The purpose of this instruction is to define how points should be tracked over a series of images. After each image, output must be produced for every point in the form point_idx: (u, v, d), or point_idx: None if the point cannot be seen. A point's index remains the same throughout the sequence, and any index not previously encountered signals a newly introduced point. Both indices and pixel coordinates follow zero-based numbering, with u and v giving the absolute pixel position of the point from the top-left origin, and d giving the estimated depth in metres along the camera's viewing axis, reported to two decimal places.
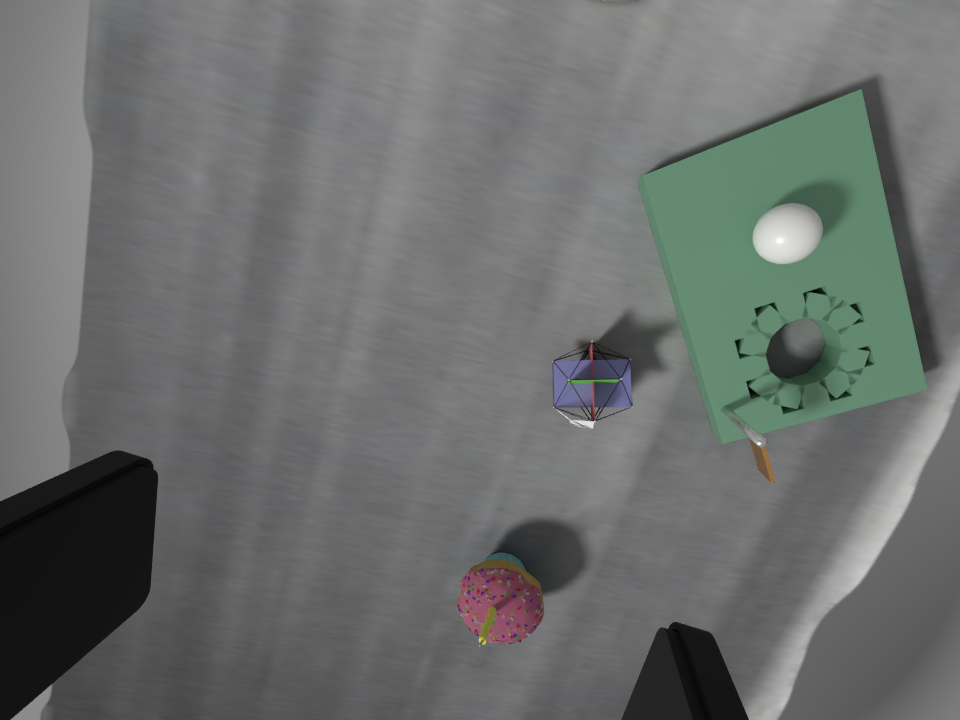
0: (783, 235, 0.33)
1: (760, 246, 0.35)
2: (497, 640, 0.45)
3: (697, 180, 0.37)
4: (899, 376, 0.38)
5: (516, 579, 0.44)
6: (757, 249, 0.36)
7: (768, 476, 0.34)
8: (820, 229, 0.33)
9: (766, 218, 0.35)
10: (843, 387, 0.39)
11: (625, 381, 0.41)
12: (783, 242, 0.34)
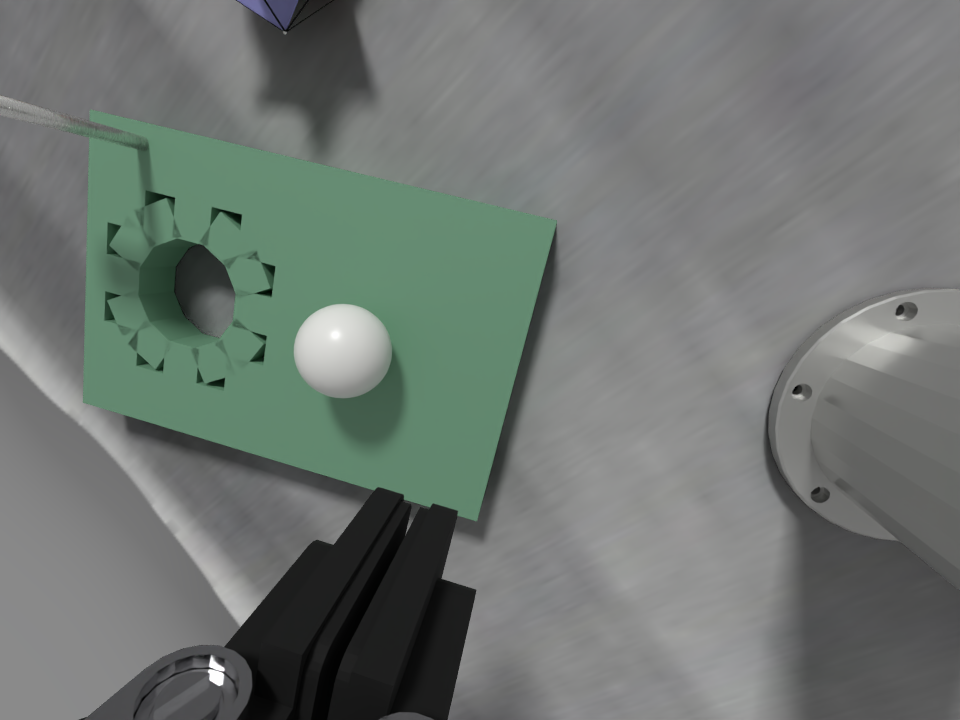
0: (333, 339, 0.20)
1: (342, 308, 0.21)
2: None
3: (496, 292, 0.23)
4: (110, 383, 0.27)
5: None
6: (343, 304, 0.22)
7: None
8: (317, 388, 0.21)
9: (378, 336, 0.21)
10: (119, 316, 0.26)
11: None
12: (323, 333, 0.20)
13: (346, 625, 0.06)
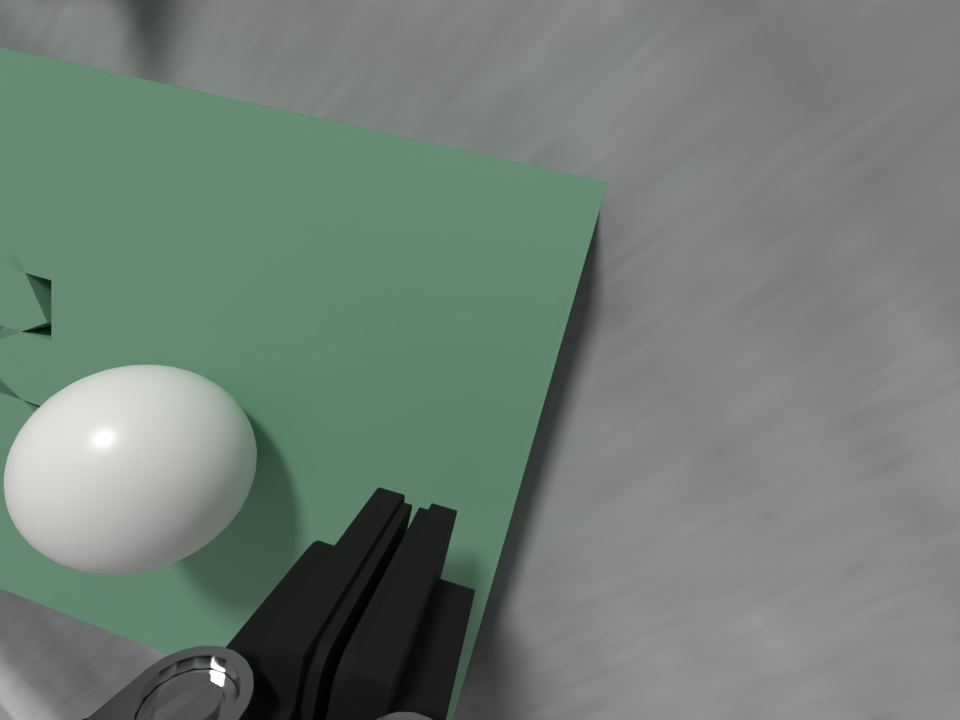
0: (63, 465, 0.08)
1: (118, 380, 0.09)
2: None
3: (473, 338, 0.11)
4: None
5: None
6: (135, 368, 0.10)
7: None
8: None
9: (197, 445, 0.09)
10: None
11: None
12: (44, 450, 0.08)
13: (347, 626, 0.06)
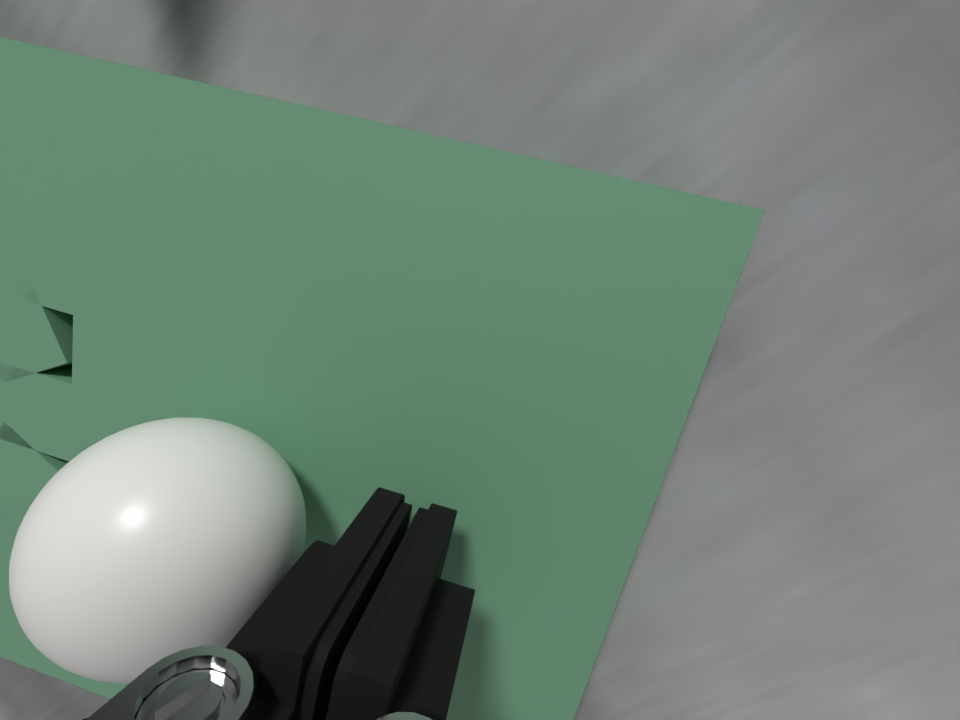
0: (80, 561, 0.06)
1: (149, 443, 0.08)
2: None
3: (586, 390, 0.09)
4: None
5: None
6: (169, 425, 0.08)
7: None
8: None
9: (241, 527, 0.07)
10: None
11: None
12: (56, 539, 0.07)
13: (347, 626, 0.06)
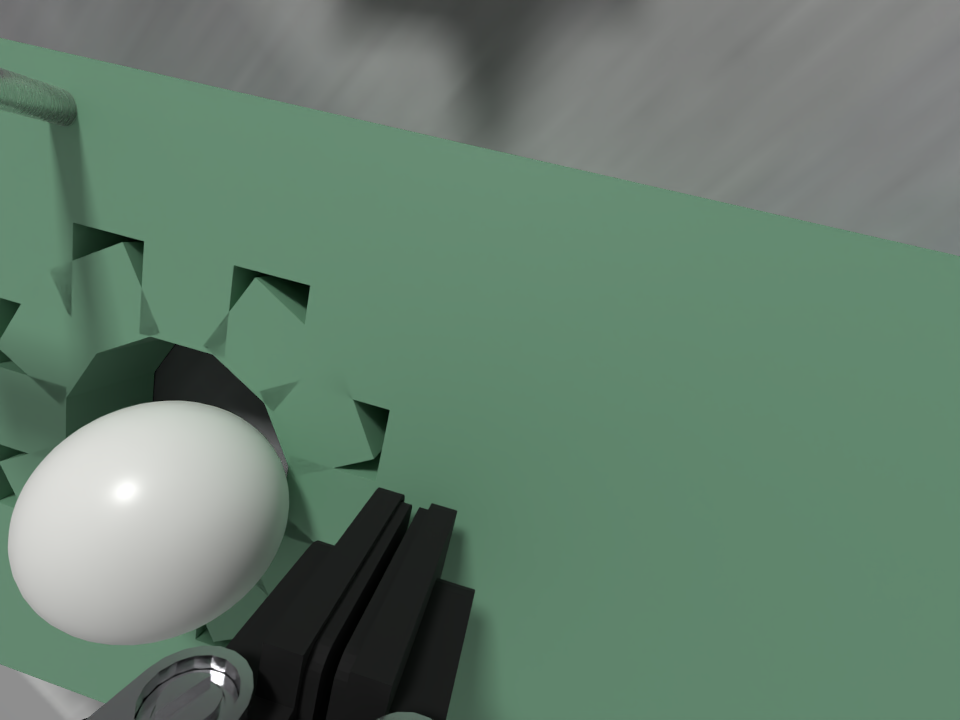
0: None
1: (146, 406, 0.09)
2: None
3: None
4: (15, 621, 0.13)
5: None
6: (186, 405, 0.09)
7: None
8: None
9: (74, 501, 0.07)
10: None
11: None
12: None
13: (347, 625, 0.06)
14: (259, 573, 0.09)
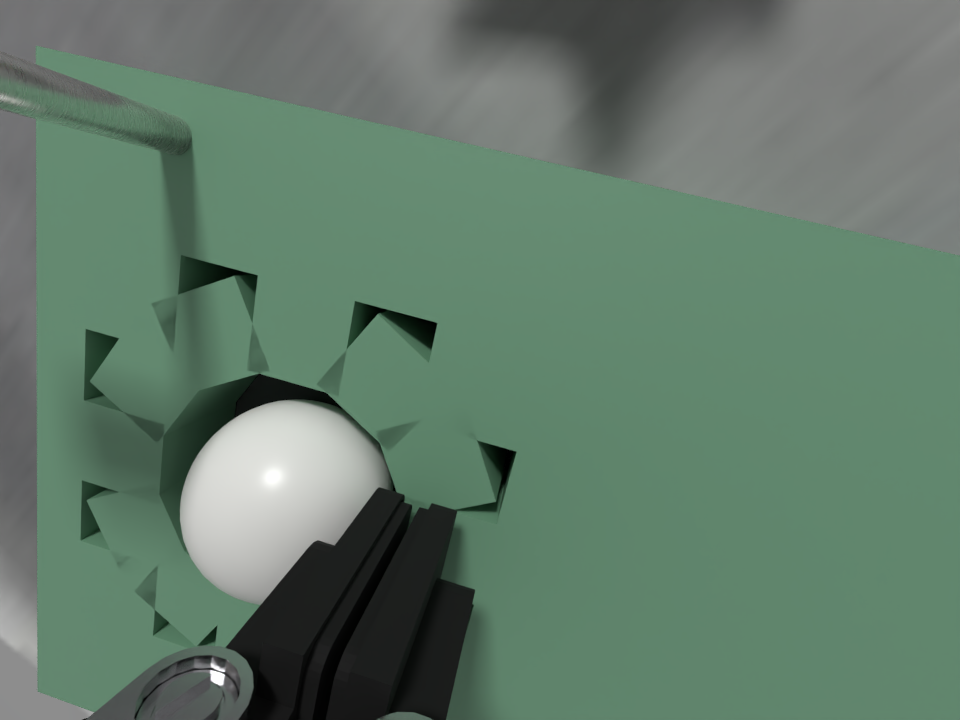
0: None
1: (298, 400, 0.11)
2: None
3: None
4: (95, 662, 0.12)
5: None
6: (323, 406, 0.10)
7: None
8: None
9: (209, 453, 0.09)
10: (114, 534, 0.11)
11: None
12: None
13: (347, 626, 0.06)
14: None
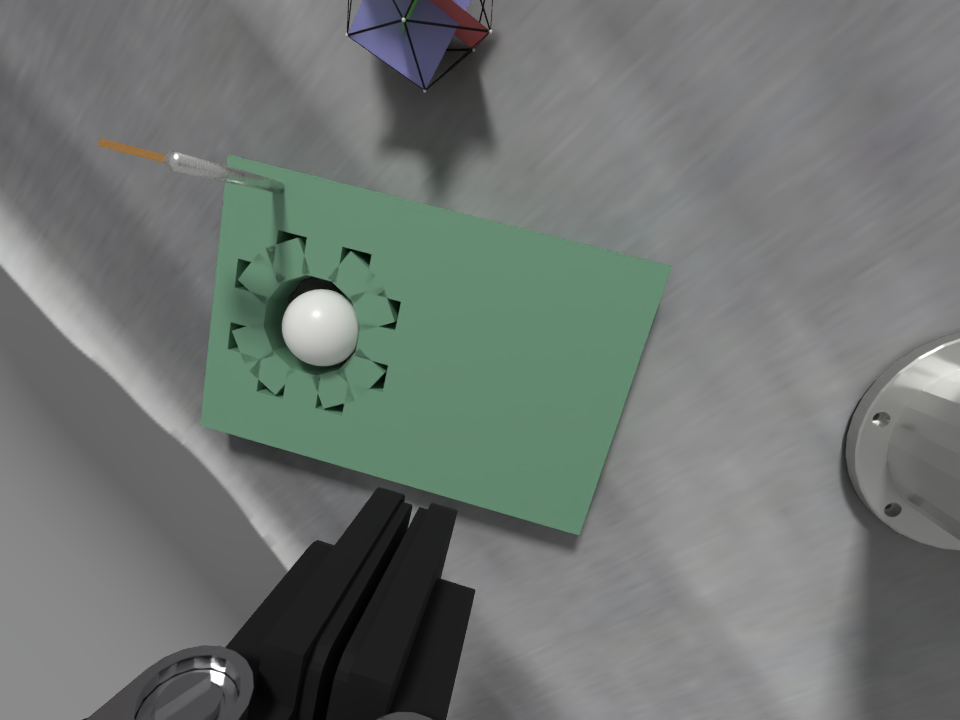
0: None
1: (323, 289, 0.27)
2: None
3: (611, 329, 0.25)
4: (229, 407, 0.29)
5: None
6: (334, 291, 0.27)
7: None
8: None
9: (296, 304, 0.25)
10: (242, 345, 0.28)
11: (394, 55, 0.23)
12: None
13: (347, 625, 0.06)
14: (340, 348, 0.26)
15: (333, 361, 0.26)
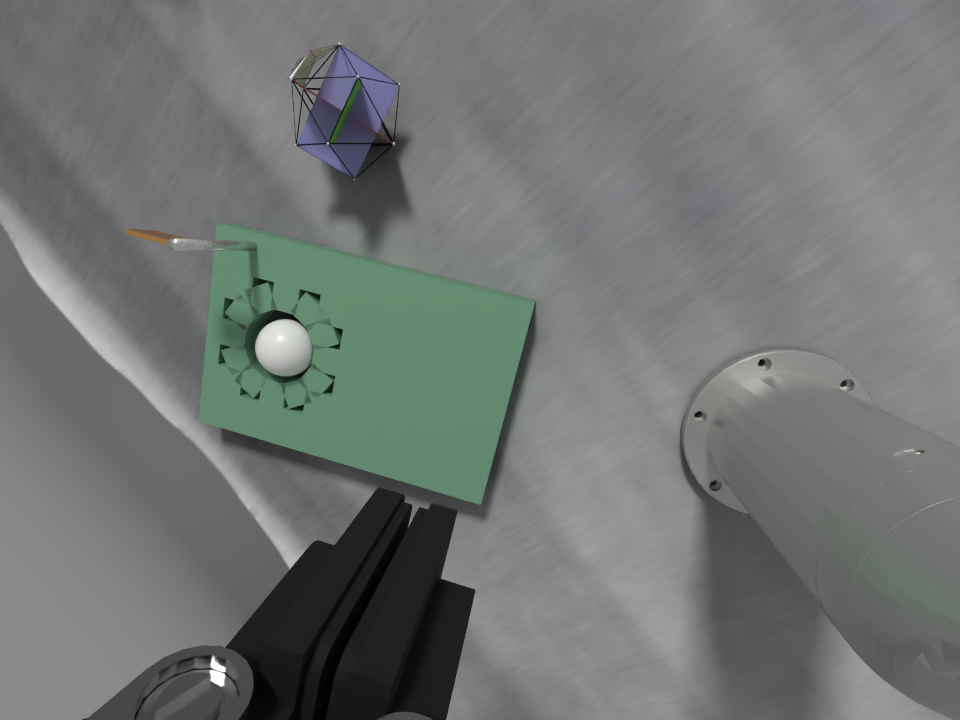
0: None
1: (286, 319, 0.36)
2: None
3: (494, 349, 0.34)
4: (219, 407, 0.38)
5: None
6: (294, 320, 0.36)
7: (135, 230, 0.28)
8: None
9: (264, 330, 0.35)
10: (229, 361, 0.37)
11: (330, 156, 0.32)
12: None
13: (347, 625, 0.06)
14: (295, 363, 0.35)
15: (292, 373, 0.35)
